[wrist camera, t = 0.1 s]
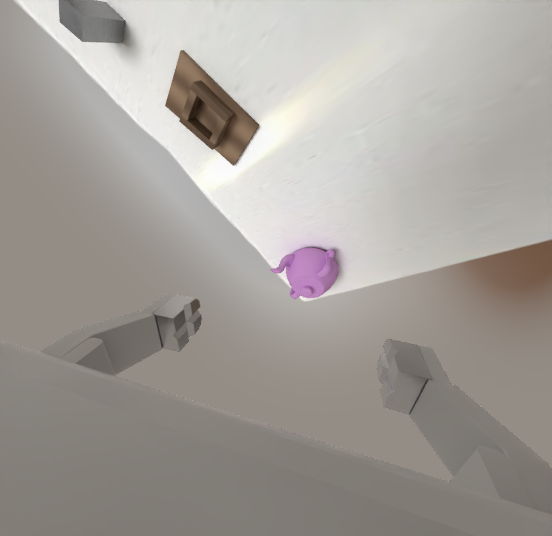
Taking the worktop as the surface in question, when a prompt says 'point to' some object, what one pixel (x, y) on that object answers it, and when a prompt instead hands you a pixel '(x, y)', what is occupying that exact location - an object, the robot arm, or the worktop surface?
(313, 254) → the teapot
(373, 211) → the worktop surface
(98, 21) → the metal bar
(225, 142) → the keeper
